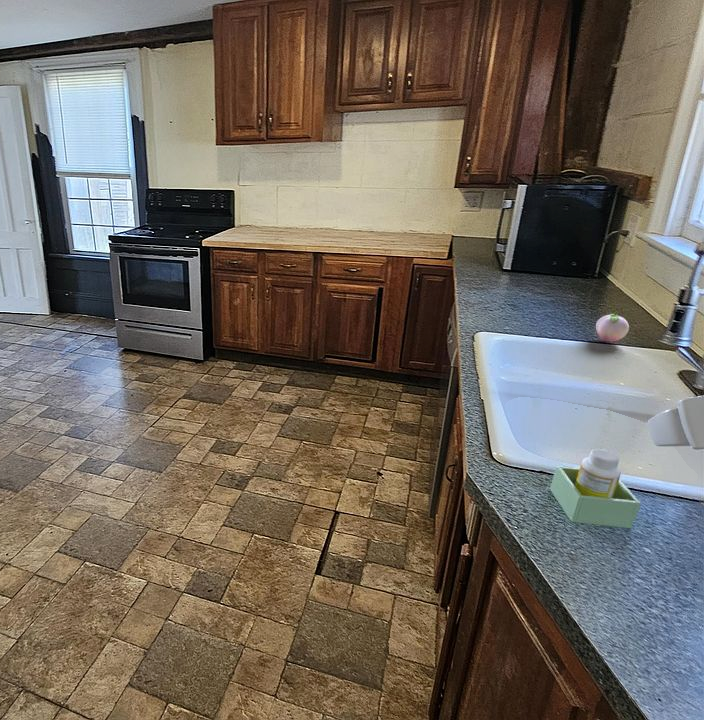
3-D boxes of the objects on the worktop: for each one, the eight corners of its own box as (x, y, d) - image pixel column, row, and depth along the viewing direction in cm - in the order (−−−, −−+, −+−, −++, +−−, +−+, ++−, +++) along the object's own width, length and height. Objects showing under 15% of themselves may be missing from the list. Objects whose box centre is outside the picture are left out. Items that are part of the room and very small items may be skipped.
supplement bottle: (589, 493, 95) (605, 444, 91) (616, 513, 89) (634, 462, 86) (562, 496, 94) (577, 447, 90) (587, 517, 89) (604, 465, 85)
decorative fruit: (627, 349, 163) (637, 318, 160) (596, 345, 166) (605, 315, 162) (618, 339, 172) (628, 310, 168) (589, 336, 174) (598, 307, 170)
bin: (604, 494, 95) (612, 470, 93) (631, 528, 87) (641, 503, 85) (549, 489, 97) (556, 465, 95) (571, 522, 88) (579, 497, 86)
